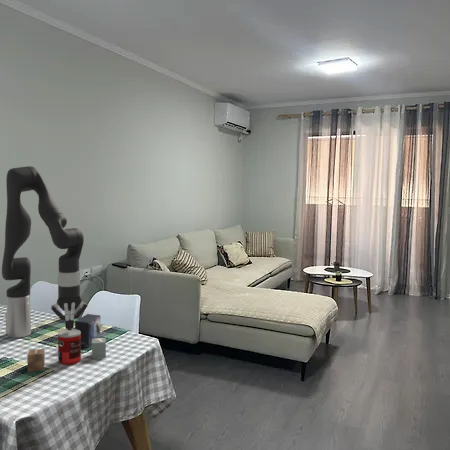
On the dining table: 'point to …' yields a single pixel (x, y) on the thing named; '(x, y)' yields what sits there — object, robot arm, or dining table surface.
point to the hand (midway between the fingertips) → (69, 329)
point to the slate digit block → (99, 348)
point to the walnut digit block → (36, 360)
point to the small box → (88, 328)
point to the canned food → (69, 346)
